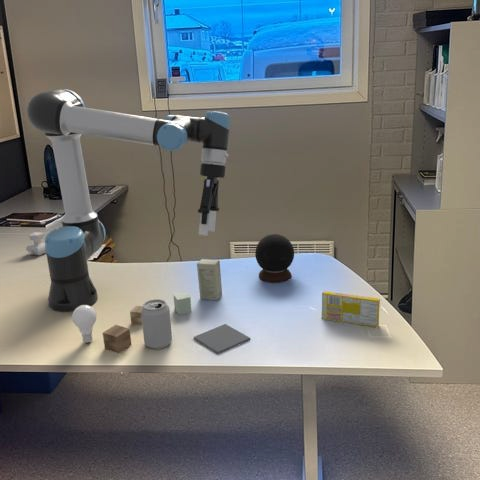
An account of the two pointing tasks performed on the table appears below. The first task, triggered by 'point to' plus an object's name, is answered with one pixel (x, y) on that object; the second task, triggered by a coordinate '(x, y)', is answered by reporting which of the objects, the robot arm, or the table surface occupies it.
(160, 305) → the can
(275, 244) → the black ball on stand
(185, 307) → the sage block
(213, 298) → the skincare box
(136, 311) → the oak block
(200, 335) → the coaster
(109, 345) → the walnut block
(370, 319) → the candy box
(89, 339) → the lightbulb
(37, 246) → the stamp
